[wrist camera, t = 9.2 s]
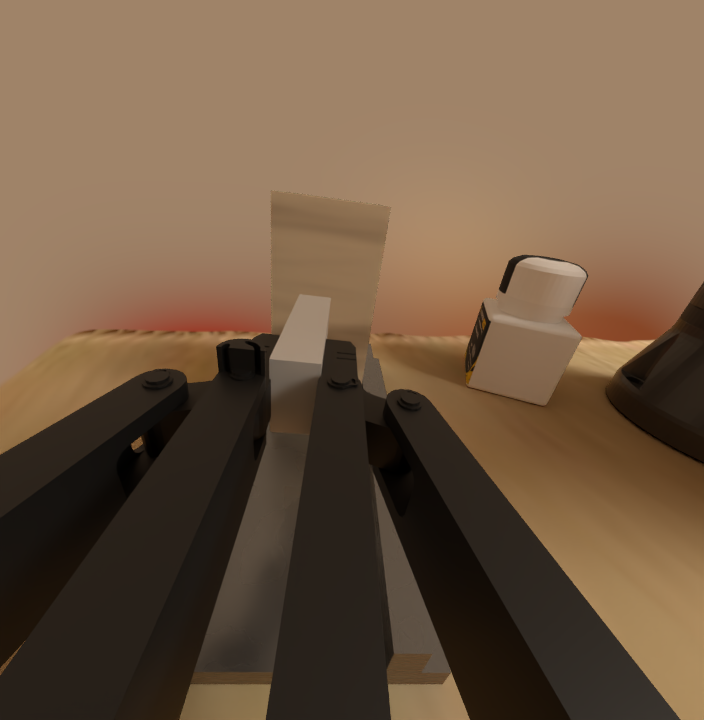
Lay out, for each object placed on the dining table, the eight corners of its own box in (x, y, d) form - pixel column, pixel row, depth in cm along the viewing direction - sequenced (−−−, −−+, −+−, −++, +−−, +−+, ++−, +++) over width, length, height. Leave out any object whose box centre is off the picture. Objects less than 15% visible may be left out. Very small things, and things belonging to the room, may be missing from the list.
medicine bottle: (463, 356, 35) (500, 247, 29) (529, 372, 33) (582, 260, 27) (465, 387, 28) (512, 256, 23) (546, 408, 27) (618, 274, 21)
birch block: (357, 410, 21) (390, 207, 15) (271, 403, 21) (270, 190, 15) (354, 368, 27) (378, 204, 20) (285, 362, 26) (289, 192, 20)
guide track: (442, 684, 10) (464, 654, 9) (105, 684, 9) (81, 651, 8) (376, 367, 30) (380, 344, 29) (263, 357, 29) (263, 333, 28)
